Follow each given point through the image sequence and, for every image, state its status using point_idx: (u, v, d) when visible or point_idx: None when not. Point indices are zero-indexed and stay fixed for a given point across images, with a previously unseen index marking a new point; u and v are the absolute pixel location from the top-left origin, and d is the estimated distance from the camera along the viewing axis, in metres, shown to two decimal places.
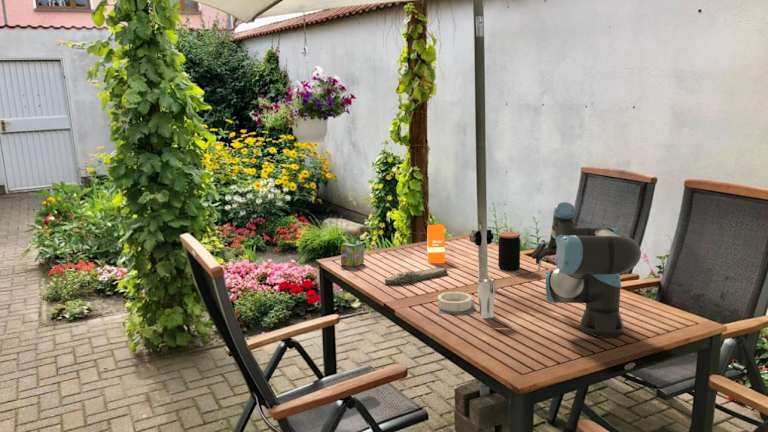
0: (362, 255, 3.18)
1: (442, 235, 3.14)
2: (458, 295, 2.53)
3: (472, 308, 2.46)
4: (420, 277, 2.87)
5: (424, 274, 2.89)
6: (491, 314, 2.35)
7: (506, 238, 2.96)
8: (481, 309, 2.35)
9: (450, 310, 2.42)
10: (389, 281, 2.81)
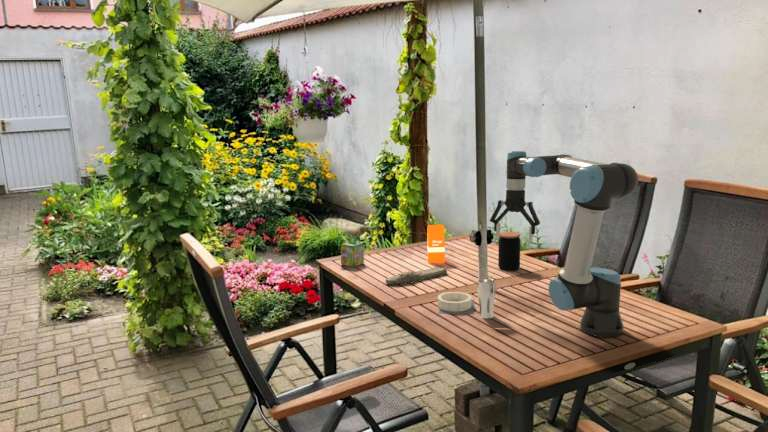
0: (362, 255, 3.18)
1: (442, 235, 3.14)
2: (458, 295, 2.53)
3: (472, 308, 2.46)
4: (421, 277, 2.87)
5: (424, 274, 2.88)
6: (491, 314, 2.35)
7: (506, 238, 2.96)
8: (481, 309, 2.35)
9: (450, 310, 2.42)
10: (390, 281, 2.80)
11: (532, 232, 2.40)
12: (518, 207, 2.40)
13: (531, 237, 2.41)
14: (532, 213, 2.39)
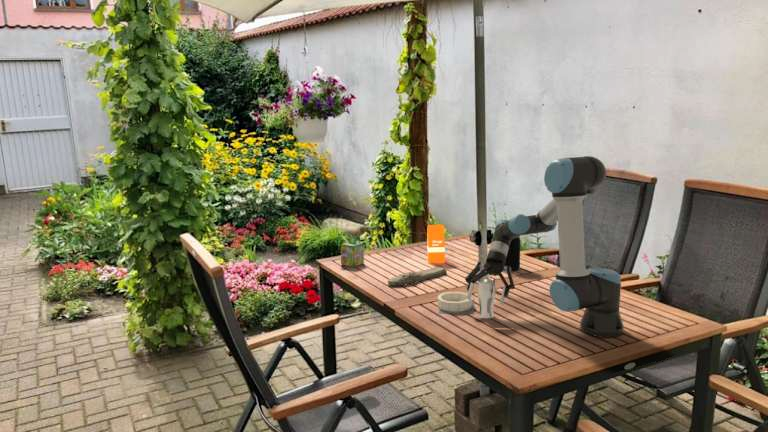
0: (362, 255, 3.18)
1: (442, 235, 3.14)
2: (458, 295, 2.53)
3: (472, 308, 2.46)
4: (422, 277, 2.86)
5: (425, 274, 2.88)
6: (491, 314, 2.35)
7: None
8: (481, 309, 2.35)
9: (450, 310, 2.42)
10: (393, 283, 2.78)
11: (505, 293, 2.33)
12: (496, 268, 2.39)
13: (503, 298, 2.32)
14: (509, 275, 2.36)
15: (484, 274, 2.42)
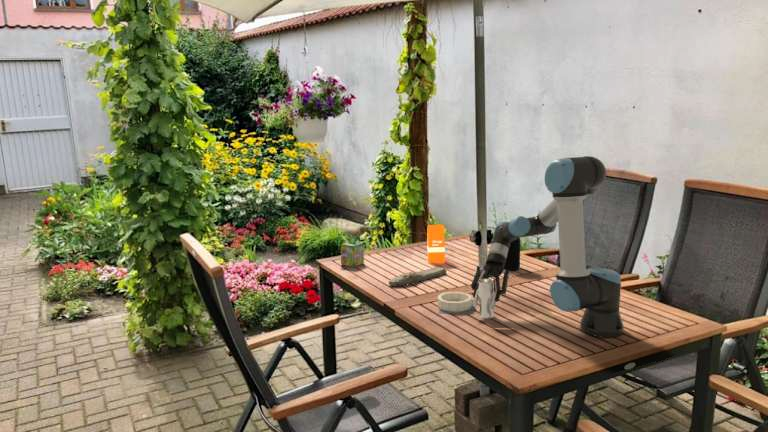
0: (362, 255, 3.18)
1: (442, 235, 3.14)
2: (458, 295, 2.53)
3: (472, 308, 2.46)
4: (423, 277, 2.86)
5: (426, 274, 2.88)
6: (491, 314, 2.35)
7: None
8: (481, 309, 2.35)
9: (450, 310, 2.42)
10: (394, 283, 2.78)
11: (496, 298, 2.32)
12: (495, 270, 2.38)
13: (494, 303, 2.32)
14: (504, 279, 2.35)
15: (486, 277, 2.40)
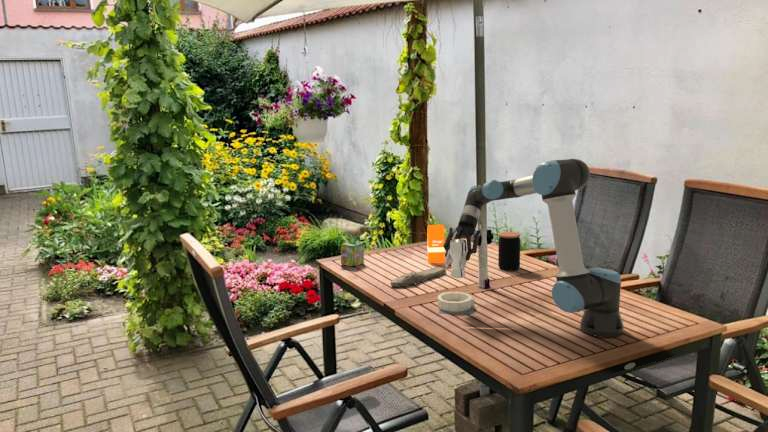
0: (362, 255, 3.18)
1: (442, 235, 3.14)
2: (458, 295, 2.53)
3: (472, 308, 2.46)
4: (424, 278, 2.86)
5: (427, 274, 2.88)
6: (462, 273, 2.43)
7: (506, 238, 2.96)
8: (452, 268, 2.43)
9: (450, 310, 2.42)
10: (396, 284, 2.77)
11: (466, 257, 2.41)
12: (467, 231, 2.46)
13: (464, 262, 2.40)
14: (475, 239, 2.43)
15: (458, 238, 2.48)
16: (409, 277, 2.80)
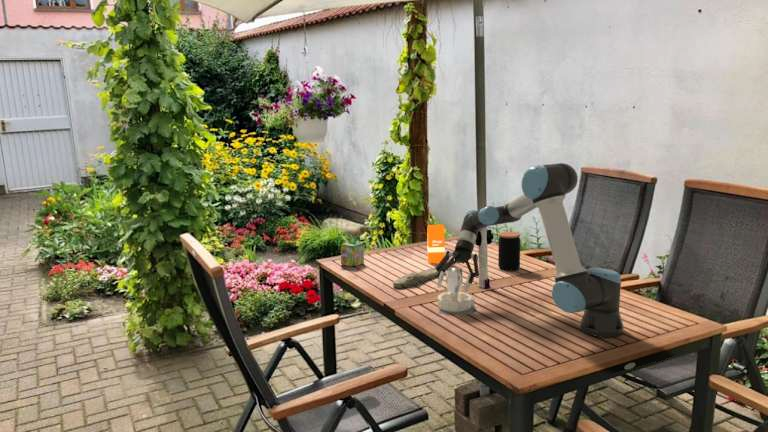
0: (362, 255, 3.18)
1: (442, 235, 3.14)
2: None
3: (472, 308, 2.46)
4: (425, 278, 2.85)
5: (428, 275, 2.87)
6: (458, 301, 2.46)
7: (506, 238, 2.96)
8: (449, 296, 2.47)
9: (450, 310, 2.42)
10: (399, 284, 2.75)
11: (470, 280, 2.43)
12: (464, 256, 2.49)
13: (468, 285, 2.43)
14: (475, 263, 2.46)
15: (453, 262, 2.52)
16: (411, 277, 2.79)
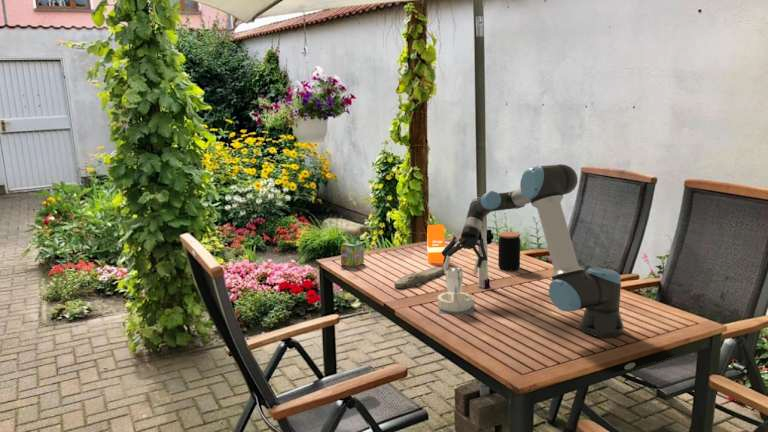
0: (362, 255, 3.18)
1: (442, 235, 3.14)
2: None
3: (472, 308, 2.46)
4: (426, 278, 2.85)
5: (428, 275, 2.87)
6: (458, 301, 2.46)
7: (506, 238, 2.96)
8: (449, 296, 2.47)
9: (450, 310, 2.42)
10: (401, 285, 2.75)
11: (478, 264, 2.50)
12: (470, 241, 2.56)
13: (476, 269, 2.49)
14: (482, 248, 2.53)
15: (459, 248, 2.59)
16: (413, 278, 2.78)
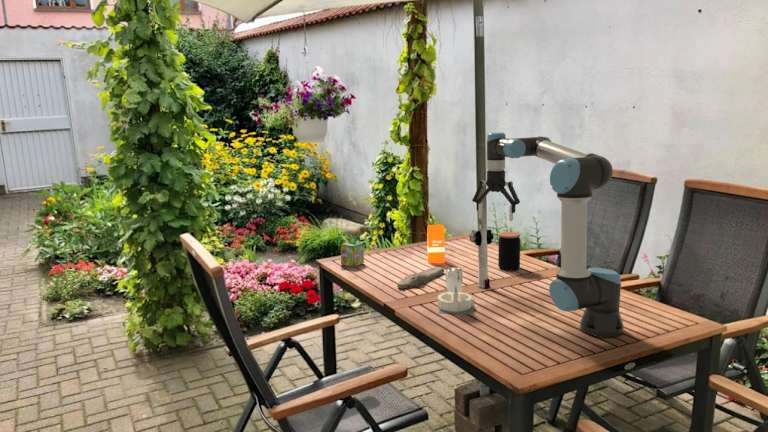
0: (362, 255, 3.18)
1: (442, 235, 3.14)
2: None
3: (472, 308, 2.46)
4: (427, 278, 2.85)
5: (429, 275, 2.87)
6: (458, 301, 2.46)
7: (506, 238, 2.96)
8: (449, 296, 2.47)
9: (450, 310, 2.42)
10: (404, 285, 2.74)
11: (512, 211, 2.49)
12: (498, 187, 2.49)
13: (512, 215, 2.50)
14: (512, 192, 2.47)
15: (488, 191, 2.54)
16: (415, 278, 2.78)
